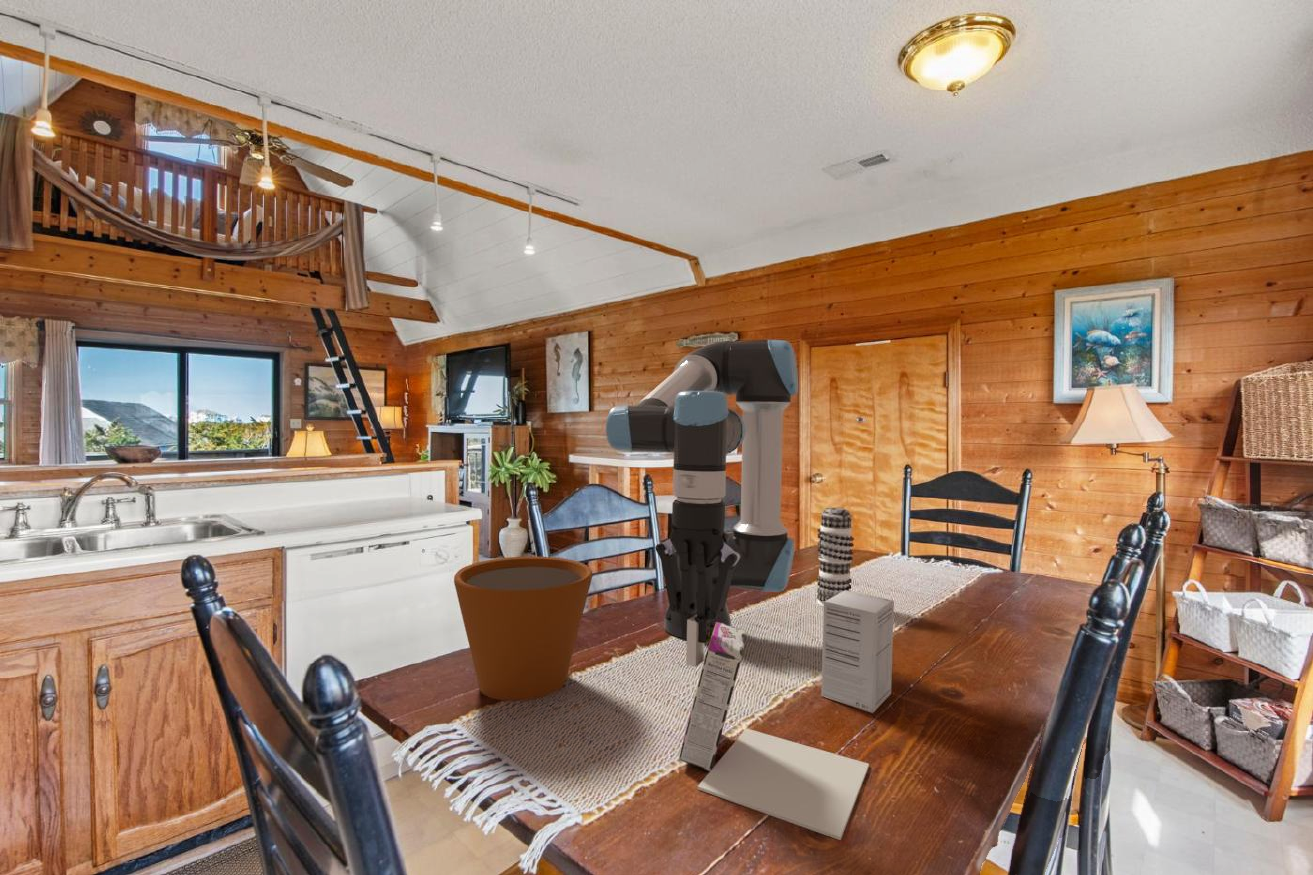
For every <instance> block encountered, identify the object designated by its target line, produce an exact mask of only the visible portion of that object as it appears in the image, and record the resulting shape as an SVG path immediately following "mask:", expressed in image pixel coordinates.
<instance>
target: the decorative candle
mask: <svg viewBox="0 0 1313 875" xmlns="http://www.w3.org/2000/svg"><path fill="white" fill-rule="evenodd" d="M850 513H851V512H850V510H848V509H846V508H843V507H842V508H841V507H828V508H825V509H824V510H823V512H821V513H820V515H821V521H820V522H821V523H820V528H817V532H818V533H817V535H816V536H817V539H819V540H818V541H817V545H818V547H817V551H818V552H819V554H818V555H817V557H818V560H819V571H818V576H817V580H818V581H817V586H818V588H817V590H816V592H817V593H816V594H817V595H816V598H817V602H816V603H817V604H819V605H818V606H820V607H822V606H823V608H824V602H825V601H827V600H828V599H830V598H832V597H834V596H836V595H837V594H839V593H841V592H843V591H844V590H845V591H850V589H852V584H851V583H852V578H851V570H850V569H851V563H852V562H853V556H852V555H853V554H854V552H853V550H852V549H851V548H852V547H854V546H855V544H854V543H853V541H854V540H855V538H854V536H852V535H851V534H852V533H853V532H852V529H853V528H852V517H854V516H853V514H850Z"/></svg>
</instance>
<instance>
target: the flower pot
mask: <svg viewBox="0 0 1313 875" xmlns="http://www.w3.org/2000/svg"><path fill="white" fill-rule="evenodd" d="M592 579H593V570H592V569H591V567H589V566H588V565H587V564H585V563H584V562H580V561H578V560H577V561H576V560H573V559H568V558H562V557H554V556H513V557H510V556H509V557H503V558H502V557H500V558H493V559H488V560H483V561H479V562H475V563H472V564H469V565H466V566H464V567H461V568H460V569H459V570H458V571H457V572H456V573H455V574H454V576H453V584H454V588H455V592H456V596H457V600H458V604H459V608H460V613H461V617H462V621H463V624H464V628H465V632H466V633H465V634H466V638H467V641H468V646H469V650H470V654H471V659H472V663H473V667H474V672H475V675H476V679H477V685H478V687H479V691H480V692H481V694H482V695H484V696H486V697H487V698H491V699H494V700H499V701H504V702H505V701H507V702H516V701H517V702H518V701H528V700H535V699H539V698H543V697H546V696H549V695H552V694H555V693H556V692H557V691H559V690H560V689H562V688H563V687H564V686H565V685H566V681H567V677H568V674H569V669H570V665H571V662H572V657H573V654H574V650H575V647H576V641H577V639H578V634H579V629H580V626H581V623H582V618H583V614H584V612H585V607H586V602H587V600H588V599H587V598H588V595H589V591H590V587H591V583H592Z"/></svg>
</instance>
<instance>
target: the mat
mask: <svg viewBox="0 0 1313 875" xmlns="http://www.w3.org/2000/svg"><path fill="white" fill-rule="evenodd" d="M869 766H870V763H867V762H865V761H860V760H858V759H854V758H850V757H847V756H843V755H840V754H837V753H832V752H829V751H826V750H822V749H819V748H816V747H812V746H808V745H805V744H801V743H798V742H794V741H791V740H788V739H784V738H781V737H778V736H775V735H770V734H767V733H764V732H760V731H757V730H754V729H751V728H748V727H747V728H745V729H744V730H743V732H742V733H741V734H740V736H738V737H737V739H735V741H734V743H733V744H732V745H731V746H730V747H729V749H727V751H725V753H724V754H723V755H722V756H721V758H720V759H719V760H718V761H717V763H716V764H715V765H713V767H712V770H711V771H708V773H707V774H706V775H705V777H704V778H703V779H702V781H701V782H700V783H699V784H698V785H697V791H698V790H699V791H701V792H704V793H707V794H710V795H713V796H715V797H718V798H720V799H724V800H727V801H730V802H732V803H734V804H738V805H740V806H744V807H746V808H749V809H751V810H754V811H758V812H759V813H762V814H766V815H768V816H771V817H774V818H777V819H779V820H783V821H785V822H788V823H791V824H792V825H793V824H794V825H795V826H799V827H802V828H804V829H807V830H810V831H813V832H816V833H819V834H822V835H825V836H826V837H829V836H830V837H831V838H833V839H835V840H838V841H841V840H842V838H843V835H844V832H845V830H846V827H847V824H848V823H849V819H850V817H851V815H852V812H853V810H854V807H855V803H856V801H857V798H858V796H859V794H860V791H861V788H862V786H863V782H864V780H865V779H866V776H867V773H868V770H869Z"/></svg>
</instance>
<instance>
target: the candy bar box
mask: <svg viewBox="0 0 1313 875" xmlns="http://www.w3.org/2000/svg"><path fill="white" fill-rule="evenodd" d="M746 635H747V631H745V630H743V629H740V628H737V627H735V626H732V625H731V626H729V625H726V624H723V623H719V622H716V624H715V627H714V630H713V633H712V636H711V639H710V640H709V644H708V645H707V649H706V652H705V655H704V661H703V662H702V663H703V664H702V666H701V671H700V675H699V678H698V679H699V680H698V683H697V686H696V689H695V694H694V697H693V701H692V705H691V709H690V713H689V717H688V721H687V724H686V729H685V732H684V736H683V740H682V744H681V748H680V753H679V757H678V760H679V761H681V762H684V763H686V764H688V765H692V766H694V767H697V768H700V769H703V770H705V771H707V772H710V771H711V770H712V769H713V767H714V762H715V759H716V756H717V752H718V748H719V745H720V741H721V737H722V734H723V730H724V726H725V724H726V723H725V722H726V719H727V715H728V712H729V707H730V704H731V700H732V696H733V693H734V690H735V689H734V688H735V684H736V682H737V678H738V673H739V669H740V668H741V667H740V665H741V662H742V658H743V653H744V647H745V643H746V637H747V636H746Z"/></svg>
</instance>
